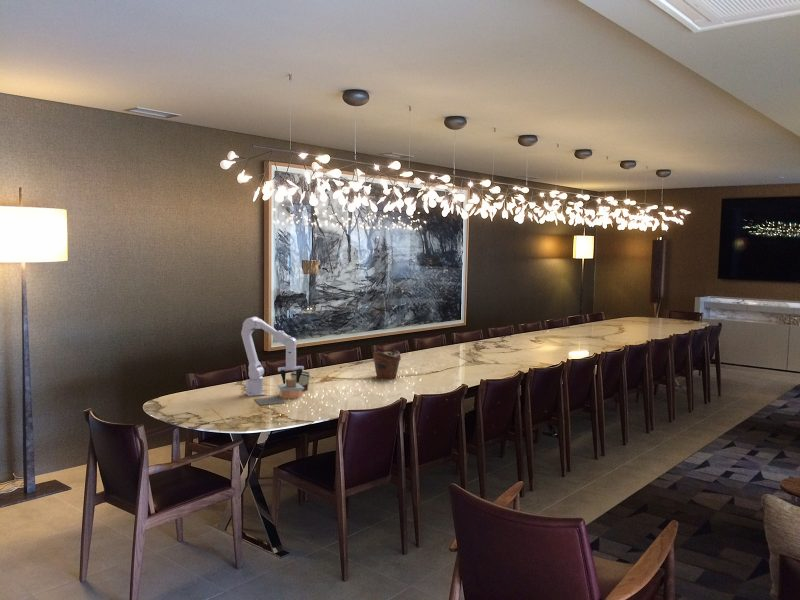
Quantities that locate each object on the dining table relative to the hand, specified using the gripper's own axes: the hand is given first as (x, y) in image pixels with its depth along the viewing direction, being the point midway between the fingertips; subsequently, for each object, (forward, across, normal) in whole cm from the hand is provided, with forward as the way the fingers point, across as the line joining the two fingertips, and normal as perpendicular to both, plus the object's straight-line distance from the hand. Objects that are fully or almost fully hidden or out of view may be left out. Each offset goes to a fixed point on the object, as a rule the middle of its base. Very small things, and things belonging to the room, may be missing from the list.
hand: (290, 383), depth 365 cm
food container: (+8, +11, +15) cm, 20 cm away
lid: (+3, 0, 0) cm, 3 cm away
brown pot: (+8, +72, +28) cm, 78 cm away
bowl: (+7, 0, 0) cm, 7 cm away
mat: (+7, -14, -8) cm, 18 cm away
